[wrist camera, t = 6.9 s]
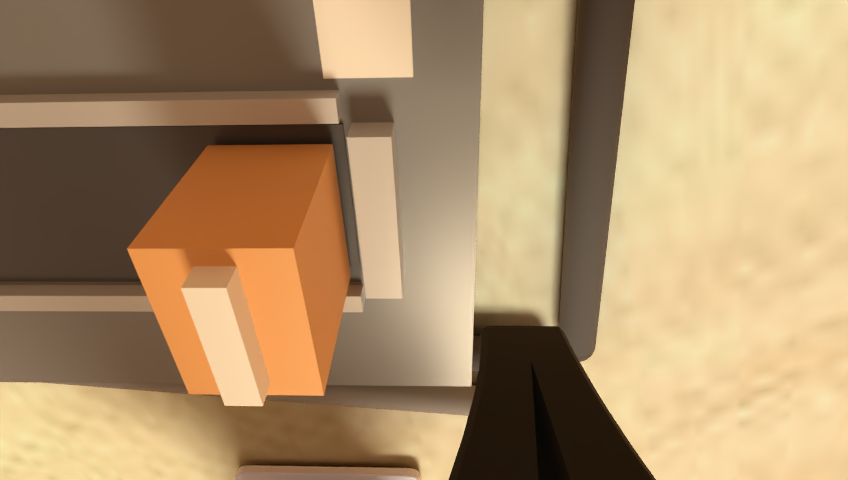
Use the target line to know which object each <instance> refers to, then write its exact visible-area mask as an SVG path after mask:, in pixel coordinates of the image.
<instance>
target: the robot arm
mask: <svg viewBox="0 0 848 480" xmlns="http://www.w3.org/2000/svg"><path fill="white" fill-rule="evenodd" d="M236 480H421V477H420V473H419V472H418V471H417V470H415V469H413V468H382V467H322V466H263V465H245V466H242V467H239V469H238V471H237V474H236ZM449 480H656V479H655V478H654V476H653V475H652V474H651V472H650V471H649V469H648V468H647V467H646V465H645V464H644V463H643V461H642V460H641V458H640V457H639V455H638V454H637V453H636V451H635V450H634V448H633V447H632V445H631V444H630V442H629V441H628V439H627V438H626V436H625V435H624V433H623V432H622V430H621V429H620V427H619V426H618V424H617V423H616V421H615V420H614V418H613V417H612V415H611V414H610V412H609V411H608V409H607V407H606V406H605V404H604V403H603V401H602V399H601V398H600V396H599V394H598V393H597V391H596V389H595V388H594V386H593V384H592V383H591V381H590V379H589V378H588V376H587V374H586V372H585V371H584V369H583V367H582V365H581V364H580V362H579V360H578V358H577V356H576V354H575V353H574V351H573V349H572V347H571V345H570V343H569V341H568V339H567V337H566V335H565V333H564V331H563V330H562V329H561V328H560V327H558V326H487V327H486V328H484V329H483V330H481V339H480V362H479V371H478V377H477V382H476V387H475V392H474V396H473V400H472V404H471V408H470V412H469V416H468V420H467V424H466V428H465V431H464V435H463V438H462V441H461V444H460V447H459V450H458V453H457V456H456V459H455V462H454V465H453V468H452V471H451V474H450V477H449Z"/></svg>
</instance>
